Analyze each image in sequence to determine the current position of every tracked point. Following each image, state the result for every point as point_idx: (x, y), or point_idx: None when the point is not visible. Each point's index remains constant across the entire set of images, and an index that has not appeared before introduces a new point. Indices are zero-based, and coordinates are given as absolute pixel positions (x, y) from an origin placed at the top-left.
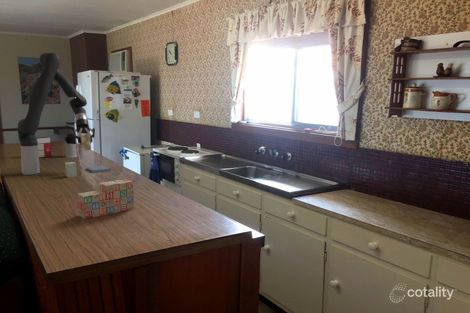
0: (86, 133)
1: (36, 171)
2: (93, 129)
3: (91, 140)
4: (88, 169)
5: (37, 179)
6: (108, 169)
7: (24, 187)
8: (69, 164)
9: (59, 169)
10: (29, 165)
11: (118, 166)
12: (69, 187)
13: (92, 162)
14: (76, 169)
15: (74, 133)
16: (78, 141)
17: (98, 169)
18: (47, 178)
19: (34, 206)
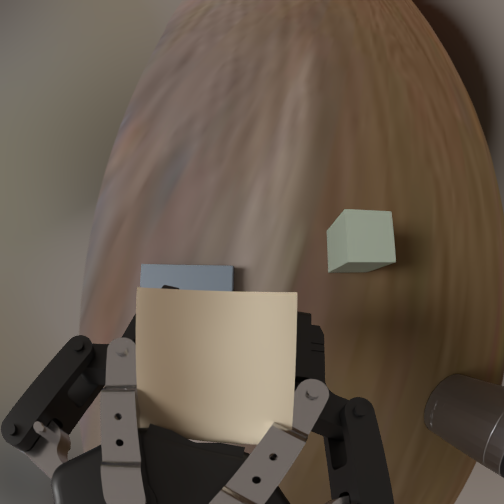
0: (163, 408)
1: (448, 382)
2: (23, 423)
3: (163, 287)
4: None
5: (458, 268)
6: (153, 264)
7: (479, 173)
8: (379, 212)
9: None
10: (483, 381)
11: None
12: (375, 90)
13: None
14: (335, 220)
15: (368, 451)
16: (320, 334)
17: (199, 275)
18: (432, 265)
19: (426, 38)
